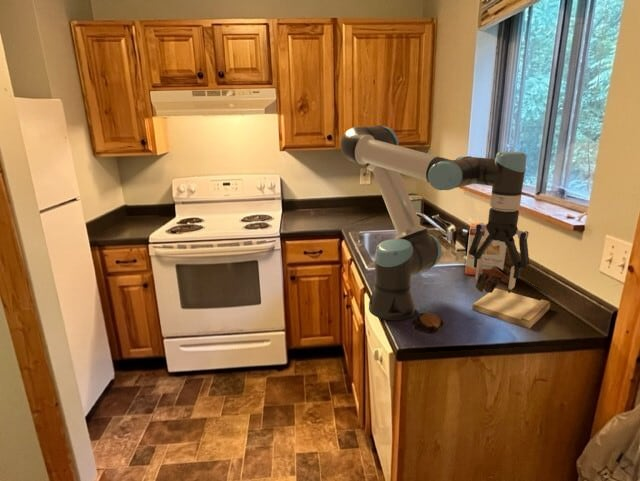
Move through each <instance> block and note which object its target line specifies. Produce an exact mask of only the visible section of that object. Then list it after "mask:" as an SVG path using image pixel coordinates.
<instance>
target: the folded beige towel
mask: <svg viewBox="0 0 640 481" xmlns="http://www.w3.org/2000/svg"><path fill="white" fill-rule="evenodd" d="M550 307H551V303H550V300H549V301H548V300H546V299H542V298H541V300H539V299H537V298H532V297H528V296H525V295H522V294H517V293H514V292H512V291H511V292H510V293H508V291H507V290H504V289H499V288H497V287H495V288H494V290H493V291H492V293H489V292H487V293H486V294H485V295H484V296H482V297H481V298H480V299H477V301H475V302H473V304H472V308H471V310H472V311H475V312H479V313H482V314H485V315H488V316H489V317H490V316H491V317H494V318H497V319H500V320H503V321H504V322H508V323H511V324H514V325H516V326H517V325H518V326H519V327H520V326H521V327H523V328H527V329H531V328H532V327H533V326H534V325H535V324H536V323H537V322H538V321H539V320H540V319H541V318H542V317H543V316H544V315H545V314H546V313H547V312H549V310H550Z"/></svg>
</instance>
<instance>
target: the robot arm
mask: <svg viewBox="0 0 640 481" xmlns="http://www.w3.org/2000/svg"><path fill="white" fill-rule="evenodd" d="M399 143H400V142H399V138H398V136H397V134H396V132H395V131H394V130H393V129H392V128H391V127H389V126H383V125H372V126H370V125H369V126H353V127H351V128H349V129H347V130H346V131H345V132H344V133H343V134H342V136H341V139H340V145H339V146H340V151H341V153H342V155H343V157H344V158H345V159H347V160H348V161H351V162H353V163H356V164H359V165H365V167H366V170H367V171H370V172H372V173H373V176H374V179H375V182H376V184H377V185H378V189H379V191H380V194H381V195H382V196H381V197H382V199H383V201H384V203H385V206H386V209H387V211H388V214H389V216H390V220H391V221H392V225H393V227H394V230H395V232H396V236H395V238H393V239H391V238H390V239H386V240H383V241H382V242H379V243H378V244H377V245H376V248H375V255H374V288H373V291H372V294H371V296H370V299H369V302H368V311H369V313H370V314H371V315H373V316H374V317H376V318H379V319H381V320H386V321H395V322H396V321H403V320H407V319H410V318H411V317H413V316H414V315H415V310H416V306H415V302H414V299H413V295H412V291H411V284H412V277H413V276H416V275H417V274H420V273H422V272H424V271H428V270H430V269H433V267H436V265H437V264H438V263H439V262H440V260H441V258H442V253H443V252H442V251H443V250H442V245H441V243H440V241H439V240H438V238H437V237H435V236H434V235H433V234H430V233H429V231H428V228H427V227H426V226H423V225H422V224H420V222H419V220H418V217H417V215H416V212H415V210H414V207H413V205H412V202H411V200H410V197H409V195H410V194H409V192H408V189H407V187H406V184H405V183H404V180H403V177H402V175H404V176H407V177H411V178H413V179H417V180H420V181H422V182H423V181H424V182H427V183H429V184H430V185H431V187H432V188H433V189H435V190H438V191H450V190H451V191H452V190H454V189H457V188H461V187H466V186H470V185H484V186H491V197H490V209H489V211H488V222H487V223H483V222H482V223H481V222H479V223H480V224H478V225H477V226H476V234H475V237H474V239H473V242H472V245H471V248H470V250H469V254H470V255H472V256H474V258H475V259H474V268H476V275H474V279H475V280H476V281H477V280H478V279H479V277H480V275H481V274H482V269H483V261H484V257H481V256H482V254H483V253H484V252H485V250H486V249H487V248H488V246H489V245H490V244H491V242H492V241H493V240H496V241H497V240H499V241H501V242H505V244H506V249H507V250H508V254H509V256H510V258H511V261H512V264H513V266H511V268H510V274H509V275H510V280H509V285H508V290H509V289H512V290H513V289H514V288H515V287H516V286H515V285H516V280H517V279H519V278H520V277H521V272H522V269H525V268H527V267H528V266H530V256H529V255H530V254H529V248H528V246H529V245H528V237H529V231H527V230H525V231H522V230H519V229H518V223H519V222H518V221H519V215H520V211H519V209H520V208H521V207H520V206H521V201H522V194H523V186H524V180H525V174H526V166H527V155H526V154H525V153H524V152H523V151H521V152H520V151H499V152H497V153H496V154H495V157H494V158H491V157H490V158H489V157H487V158H486V157H478V156H477V157H476V156H469V155H468V156H458V157H457V158H455V159H448V158H446V157H442V156H441V157H440V156H438V155H434V154H431V153H426V152H423V151H420V150H419V151H418V150H415V149H412V148H407V147H404V146H401V145H399ZM485 229H487V231H488V233H489V235H488V237H487V238H486V240H485V242H484V243H483V244H482V246H481V247H480V248H479V250H478V251H477V248H478V246H479V243H480V240H481V238H482V235H483V232H484V231H485ZM516 235H517V238H518V245H519V246H518V247H519V252H518V250H517V246H516V244H515V243H516V242H515V239H514V237H515V236H516Z"/></svg>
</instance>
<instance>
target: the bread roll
mask: <svg viewBox="0 0 640 481" xmlns="http://www.w3.org/2000/svg"><path fill="white" fill-rule="evenodd" d="M444 323H445V322H444V319H443V318H441V317H439V316H438V315H436V314H434V313H431V312H421V313H420V314H419V316H418V317H416V318H415V319H414V320H412V324H413V325H412V327H411V328H412V330H416V331H419V332H423V333H425V334H432V335H435V334H437V333H438V332H439V331H440V329H441V327H443V325H444Z"/></svg>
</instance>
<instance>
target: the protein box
mask: <svg viewBox="0 0 640 481" xmlns="http://www.w3.org/2000/svg"><path fill="white" fill-rule="evenodd" d="M408 195H409V197H410V200H411V202H412V205H413V207H414V210H415V212H417V213H422V214H423V215H424V211H425V210H424V206H425V199H424V198H423V197H422V196H421V195H419V194H408ZM417 217H418V220H419V222H420V225H423V224H424V223H423V222H424V217H423V218H422V217H419V216H417Z"/></svg>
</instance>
